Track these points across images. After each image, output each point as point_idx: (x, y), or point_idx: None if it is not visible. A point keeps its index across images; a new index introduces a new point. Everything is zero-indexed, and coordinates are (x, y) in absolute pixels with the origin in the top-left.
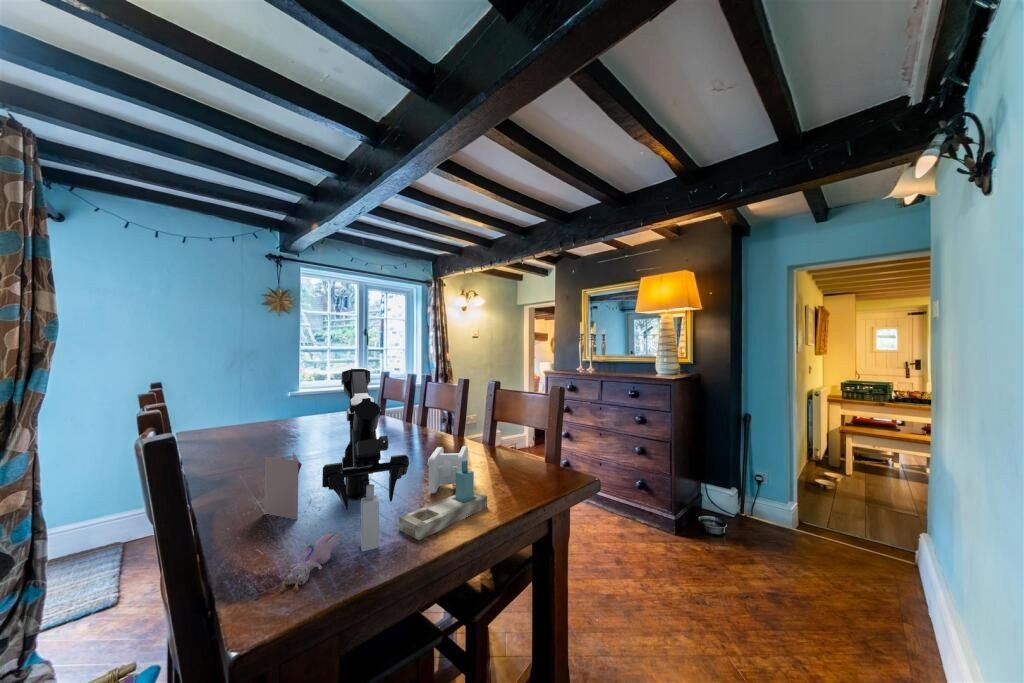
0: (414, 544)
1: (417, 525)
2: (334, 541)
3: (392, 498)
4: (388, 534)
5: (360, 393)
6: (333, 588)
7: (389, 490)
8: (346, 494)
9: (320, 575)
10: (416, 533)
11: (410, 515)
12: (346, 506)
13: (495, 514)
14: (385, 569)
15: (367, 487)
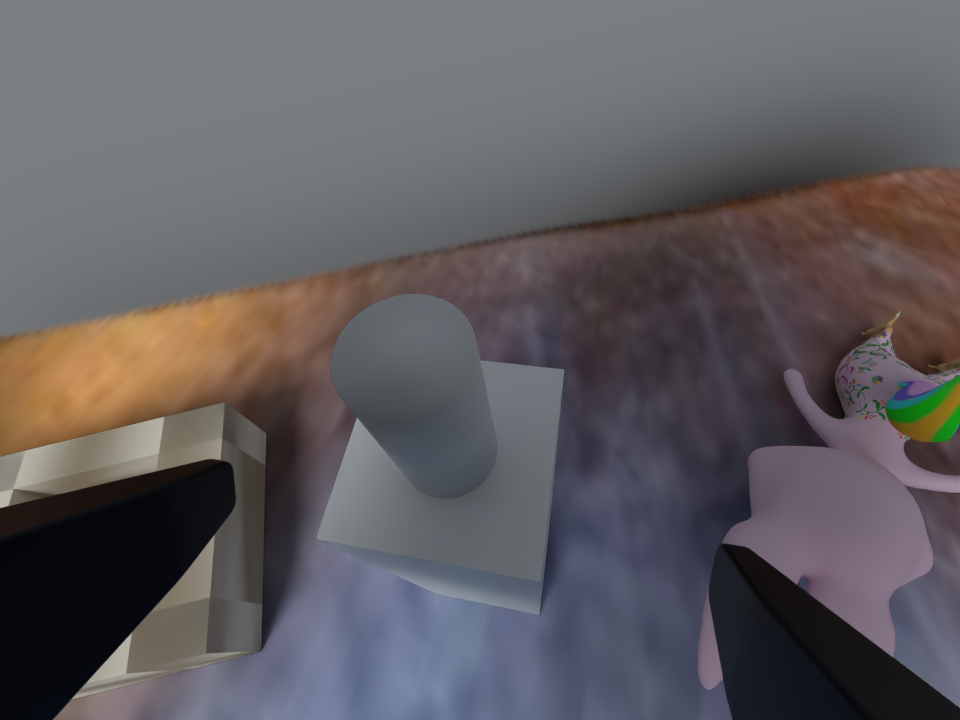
0: (305, 410)
1: (219, 422)
2: (747, 531)
3: (203, 463)
4: (344, 633)
5: None
6: (707, 285)
7: (97, 605)
8: (826, 664)
9: (773, 402)
10: (250, 443)
11: None
12: (744, 548)
13: None
14: (498, 297)
15: (467, 330)
